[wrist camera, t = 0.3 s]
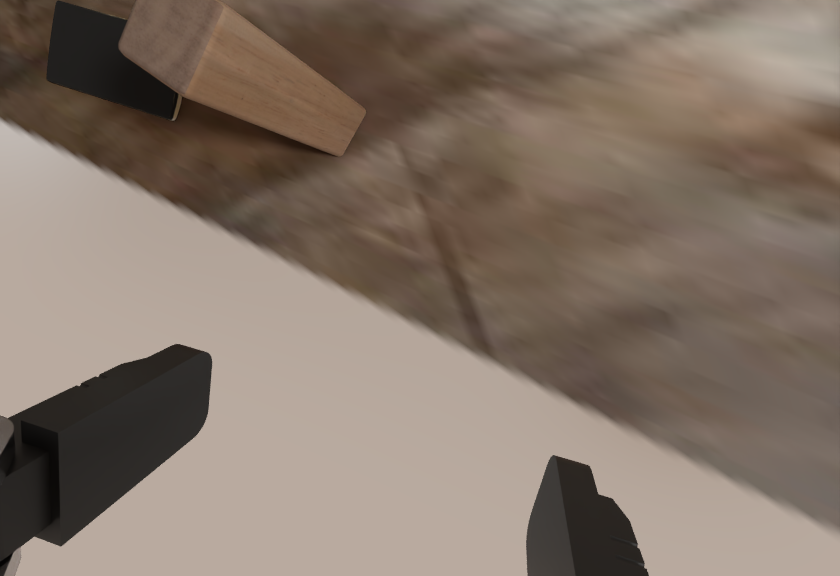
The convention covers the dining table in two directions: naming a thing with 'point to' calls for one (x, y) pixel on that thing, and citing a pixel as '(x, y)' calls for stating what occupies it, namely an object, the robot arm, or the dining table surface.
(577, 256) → the dining table surface
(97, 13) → the smartphone
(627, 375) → the dining table surface
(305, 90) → the wooden block
